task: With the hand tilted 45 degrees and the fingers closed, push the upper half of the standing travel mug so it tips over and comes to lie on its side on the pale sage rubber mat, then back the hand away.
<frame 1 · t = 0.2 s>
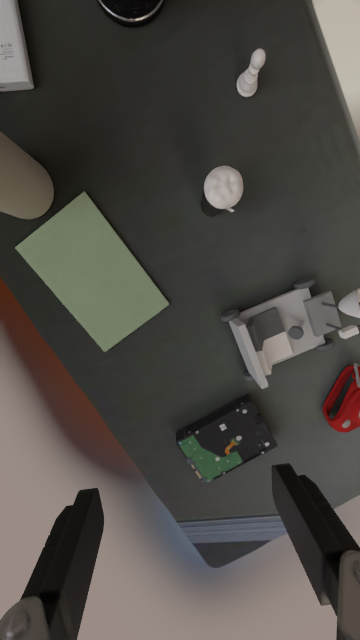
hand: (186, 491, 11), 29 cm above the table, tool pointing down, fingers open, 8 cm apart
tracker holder: (348, 392, 44), on the table
disk drive: (223, 433, 44), on the table
travel mug: (26, 190, 35), on the table
milkshake: (211, 208, 36), on the table
toy car: (280, 324, 41), on the table
mat: (96, 277, 37), on the table
chess pawn: (246, 86, 34), on the table
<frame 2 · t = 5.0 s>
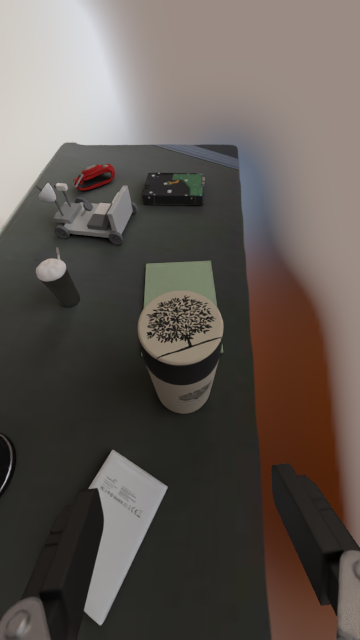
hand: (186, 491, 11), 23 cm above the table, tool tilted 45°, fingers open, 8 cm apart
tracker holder: (92, 183, 67), on the table
disk drive: (175, 194, 63), on the table
travel mug: (183, 386, 37), on the table
milkshake: (73, 299, 46), on the table
toy car: (94, 225, 57), on the table
mat: (180, 304, 45), on the table
hard drive: (111, 522, 29), on the table
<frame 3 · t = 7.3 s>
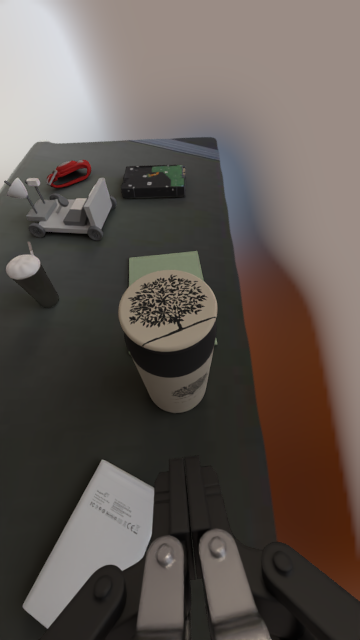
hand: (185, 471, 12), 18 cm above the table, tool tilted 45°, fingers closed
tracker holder: (68, 180, 64), on the table
disk drive: (155, 187, 61), on the table
travel mug: (177, 383, 34), on the table
milkshake: (51, 299, 42), on the table
toy car: (72, 222, 54), on the table
mat: (167, 297, 42), on the table
hard drive: (105, 542, 25), on the table
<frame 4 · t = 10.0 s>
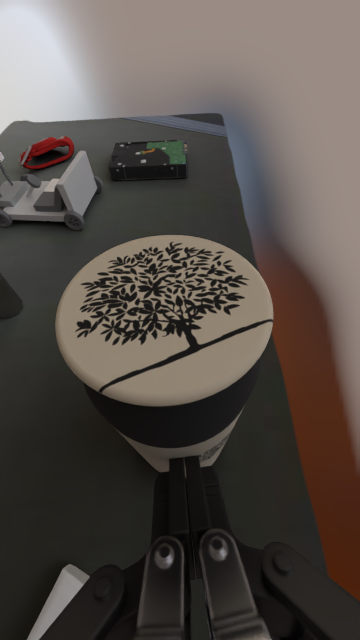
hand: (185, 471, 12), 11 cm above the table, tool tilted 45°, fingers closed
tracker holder: (46, 161, 53), on the table
disk drive: (151, 168, 50), on the table
travel mug: (181, 428, 23), on the table, touching gripper
milkshake: (13, 306, 32), on the table
toy car: (47, 209, 44), on the table
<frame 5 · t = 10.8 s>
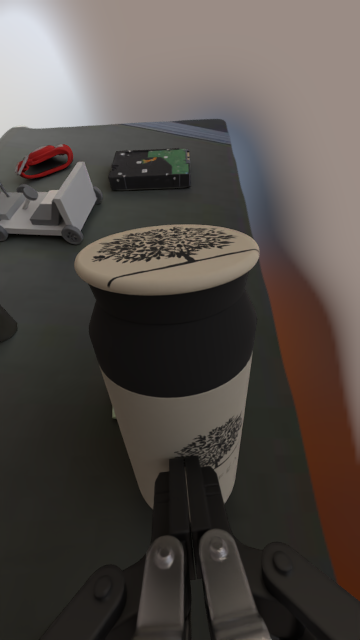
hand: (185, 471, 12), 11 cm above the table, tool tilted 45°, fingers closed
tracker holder: (44, 170, 52), on the table
disk drive: (152, 177, 49), on the table
travel mug: (186, 465, 20), point 1 cm above the table
milkshake: (7, 328, 30), on the table
toy car: (45, 221, 42), on the table
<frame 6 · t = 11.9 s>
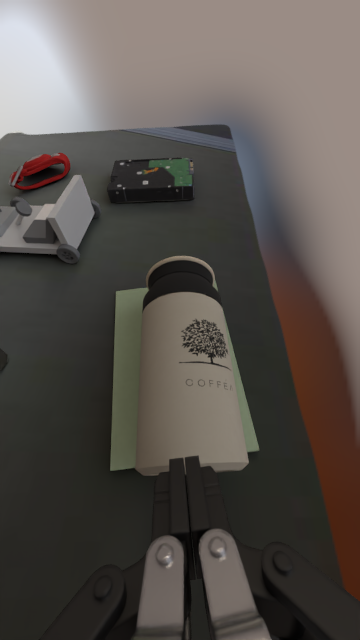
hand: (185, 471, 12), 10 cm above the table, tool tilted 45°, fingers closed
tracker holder: (40, 180, 49), on the table
disk drive: (154, 188, 46), on the table
travel mug: (192, 476, 17), point 4 cm above the table, touching mat
toy car: (40, 236, 39), on the table
mat: (173, 357, 27), on the table
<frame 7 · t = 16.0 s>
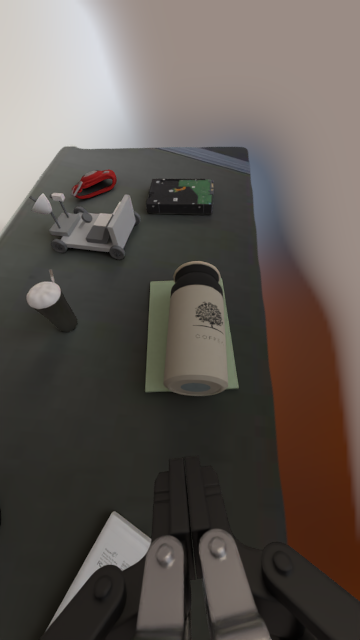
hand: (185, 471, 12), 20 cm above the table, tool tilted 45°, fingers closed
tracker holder: (92, 190, 63), on the table
disk drive: (181, 202, 58), on the table
travel mug: (195, 390, 30), point 4 cm above the table, touching mat
milkshake: (70, 322, 42), on the table
toy car: (94, 237, 53), on the table
mat: (188, 328, 40), on the table
hard drive: (110, 605, 24), on the table
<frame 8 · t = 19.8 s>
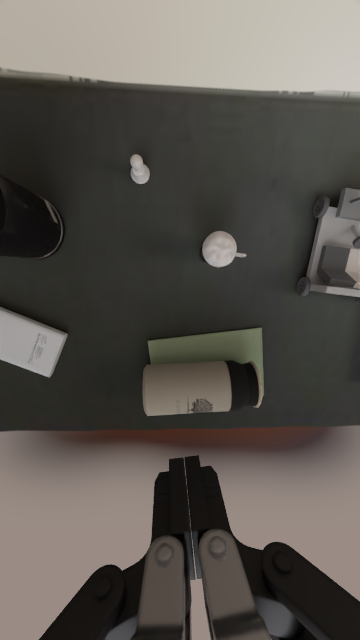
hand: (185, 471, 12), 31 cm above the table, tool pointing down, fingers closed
travel mug: (143, 389, 40), point 4 cm above the table, touching mat
milkshake: (211, 253, 41), on the table
toy car: (338, 245, 41), on the table
mat: (207, 368, 44), on the table
hard drive: (25, 340, 42), on the table
chess pawn: (140, 174, 38), on the table
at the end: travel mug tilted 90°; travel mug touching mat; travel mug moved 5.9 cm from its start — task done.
